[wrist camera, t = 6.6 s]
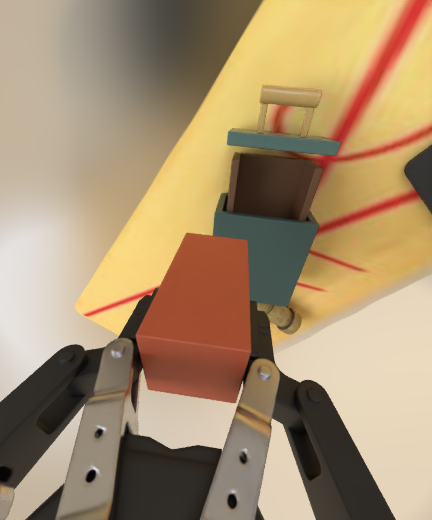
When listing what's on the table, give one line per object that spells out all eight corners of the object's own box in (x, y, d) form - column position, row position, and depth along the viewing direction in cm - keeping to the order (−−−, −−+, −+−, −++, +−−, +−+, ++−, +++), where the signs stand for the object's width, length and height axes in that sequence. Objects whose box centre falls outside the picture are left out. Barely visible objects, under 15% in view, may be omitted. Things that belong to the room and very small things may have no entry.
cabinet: (221, 193, 31) (214, 212, 25) (304, 202, 30) (319, 225, 24) (214, 266, 39) (208, 295, 32) (280, 275, 38) (287, 307, 32)
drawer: (235, 86, 23) (233, 79, 18) (337, 95, 23) (361, 89, 18) (222, 223, 33) (217, 241, 28) (293, 231, 32) (301, 252, 27)
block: (186, 232, 16) (134, 335, 8) (247, 239, 15) (251, 352, 8) (186, 279, 18) (147, 390, 11) (239, 286, 18) (235, 404, 11)
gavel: (230, 362, 50) (196, 343, 47) (232, 345, 54) (200, 326, 51) (303, 329, 38) (264, 301, 36) (300, 309, 42) (264, 282, 39)
